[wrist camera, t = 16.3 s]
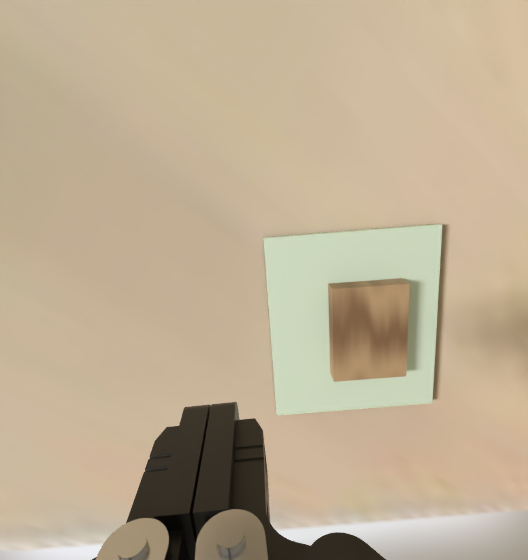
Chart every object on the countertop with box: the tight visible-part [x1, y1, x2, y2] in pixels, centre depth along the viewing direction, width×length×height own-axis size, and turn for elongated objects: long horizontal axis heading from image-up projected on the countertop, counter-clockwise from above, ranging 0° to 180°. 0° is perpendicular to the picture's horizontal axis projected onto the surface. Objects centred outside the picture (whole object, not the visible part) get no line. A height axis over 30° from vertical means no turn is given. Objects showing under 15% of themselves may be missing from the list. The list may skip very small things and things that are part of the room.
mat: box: [263, 224, 442, 415], centre depth 31 cm, size 16×14×1 cm
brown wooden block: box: [328, 278, 410, 382], centre depth 30 cm, size 8×2×6 cm
